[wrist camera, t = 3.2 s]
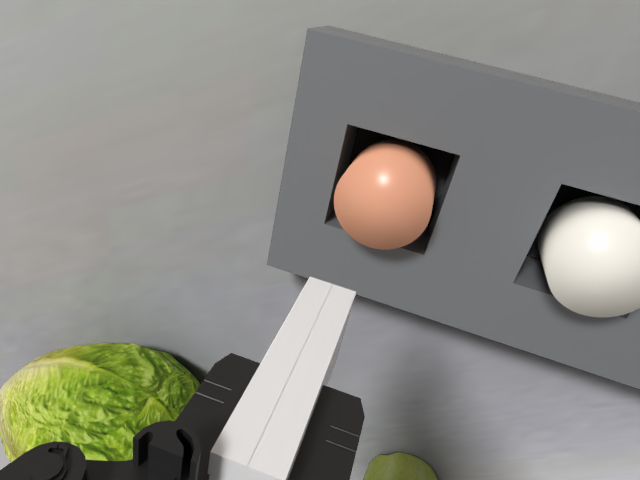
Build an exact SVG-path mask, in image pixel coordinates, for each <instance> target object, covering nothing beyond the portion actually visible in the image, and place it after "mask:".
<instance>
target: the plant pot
mask: <svg viewBox="0 0 640 480" xmlns="http://www.w3.org/2000/svg"><path fill="white" fill-rule="evenodd" d="M363 480H438V479H437V477H436V475H435V473H434V472H433V470H432V468H431V467H430V466H429V465H428V464H427V463H426V462H424V461H423V460H421V459H420V458H417V457H415V456H413V455H410V454H406V453H401V452H396V453H393V454H390V455H379V456H377V457H375V458H374V459H373V460H372V461H371V462H370V464H369V466H368V469H367V471H366V474H365V476H364V479H363Z"/></svg>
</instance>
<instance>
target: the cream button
mask: <svg viewBox="0 0 640 480" xmlns="http://www.w3.org/2000/svg"><path fill="white" fill-rule="evenodd" d="M537 244H538V250H539V254H540V258H541V261H542V264H543V268H544V271H545V275H546V278H547V282H548V285H549V288H550V290H551V292H552V294H553V295H554V297H555V298H556V299H557V300H558V301H559V302H560V303H561V304H562V305H563V306H565V307H566V308H568V309H570V310H572V311H573V312H576V313H579V314H581V315H585V316H590V317H601V318H604V317H615V316H620V315H625V314H628V313H630V312H633V311H635V310H637V309H639V308H640V220H639V218H638V217H637V216H636V215H635V213H634V212H633V211H632V210H631V209H630V208H629V207H627V206H626V205H624V204H623V203H621V202H619V201H617V200H614V199H611V198H606V197H599V196H590V197H582V198H578V199H574V200H572V201H569V202H567V203H565V204H563V205H561V206H559V207H558V208H557V209H555V210H554V211H553V212H552V213H551V214H550V215H549V216H548V217H547V218H546V219H545V221H544V222H543V224H542V226H541V228H540V230H539V234H538V240H537Z"/></svg>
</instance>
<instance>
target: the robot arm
mask: <svg viewBox="0 0 640 480" xmlns="http://www.w3.org/2000/svg"><path fill="white" fill-rule="evenodd" d="M355 295H356V291H353V290H350V289H346V288H343V287H340V286H337V285H334V284H331V283H328V282H325V281H322V280H319V279H316V278H313V277H309V279H308V281H307V282H306V284H305V286H304V288H303V289H302V291H301V293H300V295H299V296H298V298H297V300H296V302H295V303H294V305H293V307H292V309H291V311H290V312H289V314H288V316H287V318H286V319H285V321H284V323H283V325H282V326H281V328H280V330H279V332H278V333H277V335H276V337H275V339H274V340H273V342H272V344H271V346H270V348H269V349H268V351H267V353H266V355H265V356H264V358H263V360H262V362H261V363H257V362H255V361H252V360H249V359H246V358H244V357H241V356H238V355H235V354H233V353H231V354H229V355H228V356H226V357H224V358H223V359H221V360H220V361H218V362H217V363H215V364H214V366H213V367H212V369H211V370H210V372H209V373H208V374H207V376H206V377H205V379H204V381H203V382H202V383H201V384H200V386H199V387H198V389H197V390H196V393H195V394H194V395H193V396H192V397H191V399H190V400H189V402H188V403H187V405H186V406H185V408H184V409H183V410H182V412H181V413H180V415H179V416H178V418H177V419H176V421H171V420H168V421H161V422H155V423H153V424H151V425H149V426H146V427H144V428H143V429H142V430H140V431H139V432H138V433H137V434H136V435H135V436H134V437H133V459H131V460H127V461H102V460H86V459H85V455H84V454H83V452H82V451H81V450H80V448H79V447H77V446H75V445H73V444H71V443H69V442H57V441H53V442H49V443H45V444H41V445H38V446H36V447H34V448H32V449H31V450H29V451H27V452H25V453H24V454H22V455H21V456H19V457H18V458H17V459H15V460H14V461H13V462H11V463H10V464H8V465H7V466H6V467H4V468H3V469H2V470H0V480H349V479H350V475H351V471H352V467H353V463H354V459H355V454H356V450H357V446H358V442H359V437H360V434H361V430H362V425H363V421H364V412H363V408H362V403H361V399H360V398H358V397H355V396H352V395H349V394H347V393H344V392H341V391H338V390H336V389H333V388H330V387H327V384H328V381H329V378H330V376H331V373H332V370H333V367H334V365H335V362H336V359H337V356H338V353H339V349H340V346H341V342H342V339H343V335H344V332H345V329H346V325H347V322H348V318H349V315H350V312H351V308H352V305H353V301H354V298H355Z"/></svg>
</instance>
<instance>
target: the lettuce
mask: <svg viewBox="0 0 640 480" xmlns="http://www.w3.org/2000/svg"><path fill="white" fill-rule="evenodd" d="M199 386H200V383H199V381H198V380H197V379H196V378H195V377H194V376H193V375H192V374H191V373H190V372H189V371H188V370H187V369H186V368H185V367H184V366H183V365H182V364H180V363H179V362H178V361H177V360H176V359H175V358H174V357H172V356H171V355H170V354H169V353H167V352H162V351H157V350H152V349H148V348H145V347H142V346H139V345H136V344H133V343H96V344H87V345H78V346H74V347H69V348H65V349H60V350H56V351H52V352H50V353H47V354H45V355H42V356H40V357H38V358H36V359H35V360H33V361H31V362H30V363H28V364H26V365H25V366H24V367H23V368H21V369H20V370H19V371H17V372H16V373H15V374H14V375H13V376H12V377H11V378H10V379H9V380H8V381H7V382H6V383H5V384H4V385H3V387H2V388H1V389H0V436H1V441H2V444H3V448H4V451H5V454H6V456H7V457H8V459H9V460H10V462H13V461H14V460H15V459H17V458H18V457H19V456H21V455H22V454H24V453H25V452H27V451H29V450H31V449H32V448H34V447H36V446H38V445H41V444H45V443H49V442H53V441H57V442H69V443H71V444H73V445H75V446H77V447H79V448H80V450H81V451H82V452H83V454H84V455H85V459H86V460H102V461H127V460H131V459H133V437H134V436H135V435H136V434H137V433H138V432H139V431H140V430H142V429H143V428H144V427H146V426H149V425H151V424H153V423H155V422H161V421H168V420H171V421H176V419H177V418H178V416H179V415H180V413H181V412H182V410H183V409H184V408H185V406H186V405H187V403H188V402H189V400H190V399H191V397H192V396H193V395H194V394H195V393H196V390H197V389H198V387H199Z"/></svg>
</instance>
